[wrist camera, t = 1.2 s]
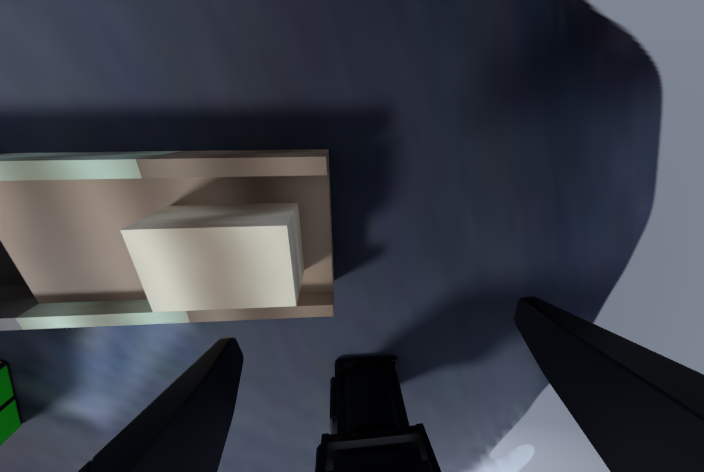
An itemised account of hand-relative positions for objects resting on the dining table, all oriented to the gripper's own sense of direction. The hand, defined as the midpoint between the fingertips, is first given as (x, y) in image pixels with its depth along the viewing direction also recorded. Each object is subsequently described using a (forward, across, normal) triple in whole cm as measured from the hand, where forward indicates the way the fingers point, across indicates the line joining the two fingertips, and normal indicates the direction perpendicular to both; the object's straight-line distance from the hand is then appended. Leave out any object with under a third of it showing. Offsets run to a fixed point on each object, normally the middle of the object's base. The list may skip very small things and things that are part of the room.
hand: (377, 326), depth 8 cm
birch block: (+10, +8, +1) cm, 13 cm away
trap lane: (+13, +16, 0) cm, 20 cm away
